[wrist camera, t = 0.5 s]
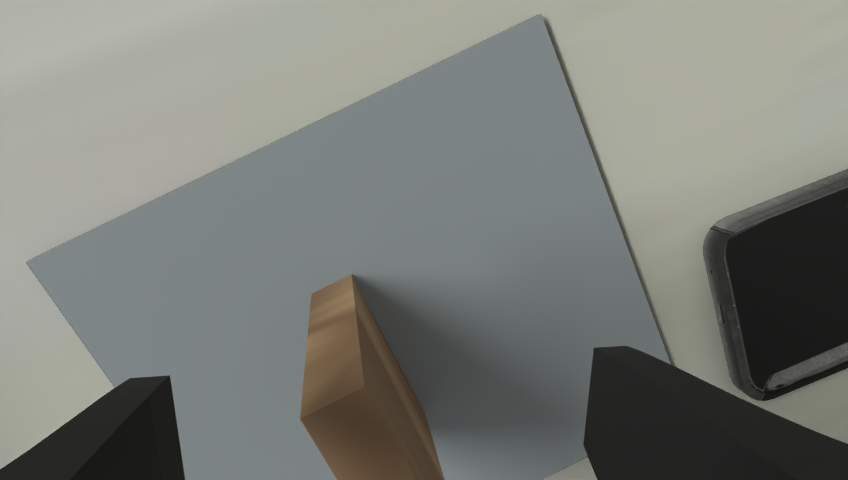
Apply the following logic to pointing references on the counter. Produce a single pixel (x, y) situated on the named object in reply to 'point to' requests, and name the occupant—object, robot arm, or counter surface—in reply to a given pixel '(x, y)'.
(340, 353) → the walnut tile
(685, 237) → the counter surface
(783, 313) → the phone
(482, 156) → the rubber mat
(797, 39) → the counter surface
